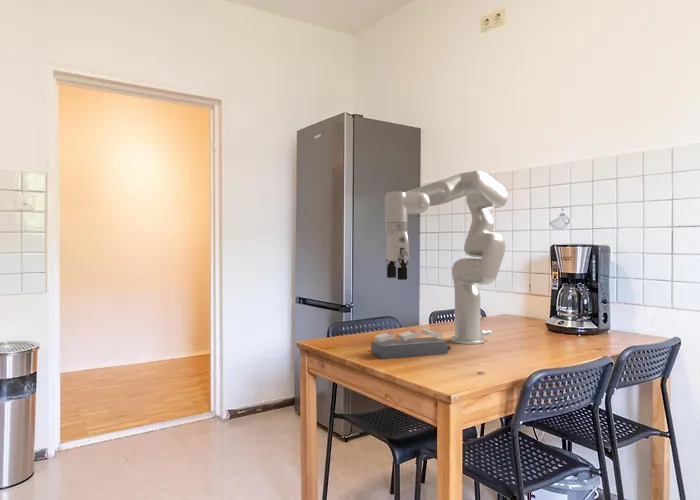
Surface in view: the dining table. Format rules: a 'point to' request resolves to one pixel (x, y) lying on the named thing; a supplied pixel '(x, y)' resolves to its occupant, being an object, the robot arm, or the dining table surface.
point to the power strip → (409, 347)
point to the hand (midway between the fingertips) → (396, 278)
